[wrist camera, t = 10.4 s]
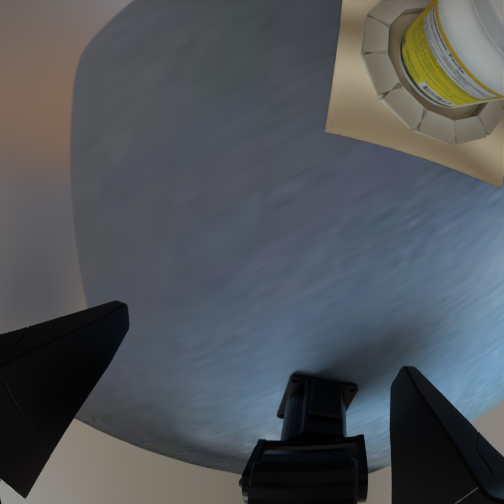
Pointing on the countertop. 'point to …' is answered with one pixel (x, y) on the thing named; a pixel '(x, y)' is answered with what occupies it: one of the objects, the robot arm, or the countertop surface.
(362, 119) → the collar board
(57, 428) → the robot arm
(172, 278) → the countertop surface
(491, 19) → the pill bottle
